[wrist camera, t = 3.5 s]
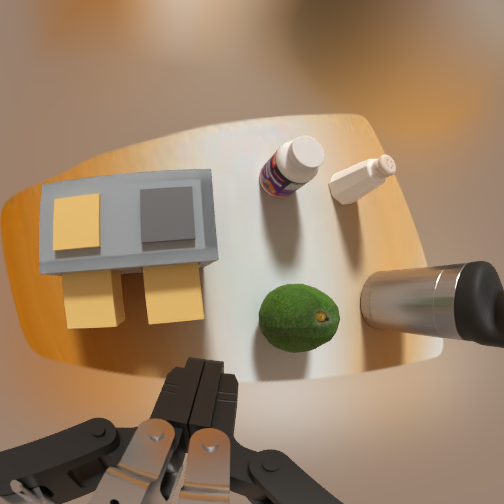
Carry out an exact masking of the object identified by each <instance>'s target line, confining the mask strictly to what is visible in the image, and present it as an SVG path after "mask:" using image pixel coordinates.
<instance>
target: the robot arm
mask: <svg viewBox="0 0 504 504" xmlns="http://www.w3.org/2000/svg"><path fill="white" fill-rule="evenodd" d="M361 311H362V314H363V317H364V319H365V320H366V322H367V323H368V324H369V325H370V326H372V327H374V328H378V329H385V330H391V331H397V332H403V333H410V334H417V335H425V336H432V337H440V338H449V339H458V340H467V341H474V342H476V343H479V344H481V345H487V346H494V347H501V348H504V290H503V287H502V284H501V281H500V279H499V276H498V274H497V272H496V270H495V268H494V267H493V266H492V265H491V264H490V263H488V262H485V261H477V262H470V263H461V264H452V265H444V266H435V267H425V268H414V269H404V270H392V271H381V272H377V273H374V274H373V275H372V276H370V277H369V279H368V280H367V281H366V283H365V285H364V287H363V290H362V294H361ZM237 395H238V382H237V379H236V377H235V375H234V374H224V362H222V361H213V360H205V359H197V358H190V357H189V358H188V360H187V363H186V366H185V368H180V367H175V368H174V369H173V370H172V371H171V372H170V373H168V375H167V378H166V380H165V383H164V385H163V387H162V391H161V392H160V395H159V397H158V400H157V402H156V405H155V407H154V410H153V412H152V414H151V417H150V419H148V420H146V421H144V422H142V423H141V424H140V425H139V427H134V428H115V426H114V425H113V424H112V423H111V422H110V421H109V420H107V419H104V418H93V419H90V420H88V421H86V422H83V423H81V424H78V425H76V426H74V427H71V428H68V429H66V430H63V431H61V432H58V433H55V434H53V435H50V436H47V437H45V438H42V439H39V440H36V441H33V442H30V443H27V444H24V445H21V446H18V447H15V448H12V449H8V450H5V451H2V452H0V504H62V503H65V502H68V501H71V500H73V499H76V498H79V497H81V496H83V495H86V494H89V493H91V492H93V491H95V492H94V494H93V496H92V498H91V500H90V502H89V504H171V500H172V498H173V495H174V492H175V490H176V487H177V484H178V481H179V478H180V475H181V472H182V470H183V461H184V457H185V453H188V457H187V464H186V471H185V479H184V486H183V487H182V488H181V490H180V494H179V501H178V504H229V502H230V499H229V497H230V492H229V491H233V492H235V493H238V494H241V495H244V496H246V497H247V498H248V500H249V501H250V502H251V503H252V504H343V503H342V502H341V501H339V500H338V499H337V498H335V497H334V496H333V495H332V494H330V493H329V492H328V491H326V490H325V489H324V488H323V487H322V486H321V485H319V484H318V483H317V482H316V481H315V480H313V479H312V478H311V477H310V476H309V475H308V474H306V473H305V472H304V471H303V470H302V469H301V468H300V467H299V466H297V464H295V463H294V462H293V461H292V460H291V459H290V458H289V457H288V456H287V455H285V454H284V453H282V452H280V451H277V450H263V451H260V452H256V451H253V450H250V449H247V448H245V447H243V446H241V445H240V444H239V443H238V442H237V441H236V440H235V438H234V436H233V435H234V426H235V418H236V409H237V397H238V396H237Z"/></svg>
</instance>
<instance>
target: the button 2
mask: <svg viewBox="0 0 504 504" xmlns="http://www.w3.org/2000/svg"><path fill="white" fill-rule="evenodd" d="M143 278H144V288H145V298H146V306H147V314H148V322H149V324H159V323H170V322H180V321H190V320H199V319H204V312H203V304H202V295H201V286H200V276H199V265H198V263H188V264H176V265H164V266H152V267H143Z"/></svg>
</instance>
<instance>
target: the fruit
mask: <svg viewBox="0 0 504 504" xmlns="http://www.w3.org/2000/svg"><path fill="white" fill-rule="evenodd" d="M339 321H340V316H339V311H338V307H337V305H336V304H335V303H334V301H333V300H332V299H331V298H330V297H329V296H327V295H326V294H325V293H323V292H321V291H319V290H318V289H316V288H314V287H311V286H307V285H304V284H287V285H283V286H280V287H278V288H276V289H275V290H273V291H271V292H270V293H269V294H268V295H267V296H266V297H265V299H264V301H263V303H262V305H261V308H260V311H259V324H260V327H261V330H262V333H263V334H264V336H265V337H266V339H267V340H268V341H269V342H270V343H271V344H272V345H273V346H274V347H277V348H279V349H282V350H284V351H288V352H293V353H295V352H305V351H310V350H313V349H316V348H317V347H319V346H321V345H322V344H324V343H326V342H328V341H330V340H331V339H332V337H333V336H334V335H335V333H336V331H337V328H338V325H339Z"/></svg>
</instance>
